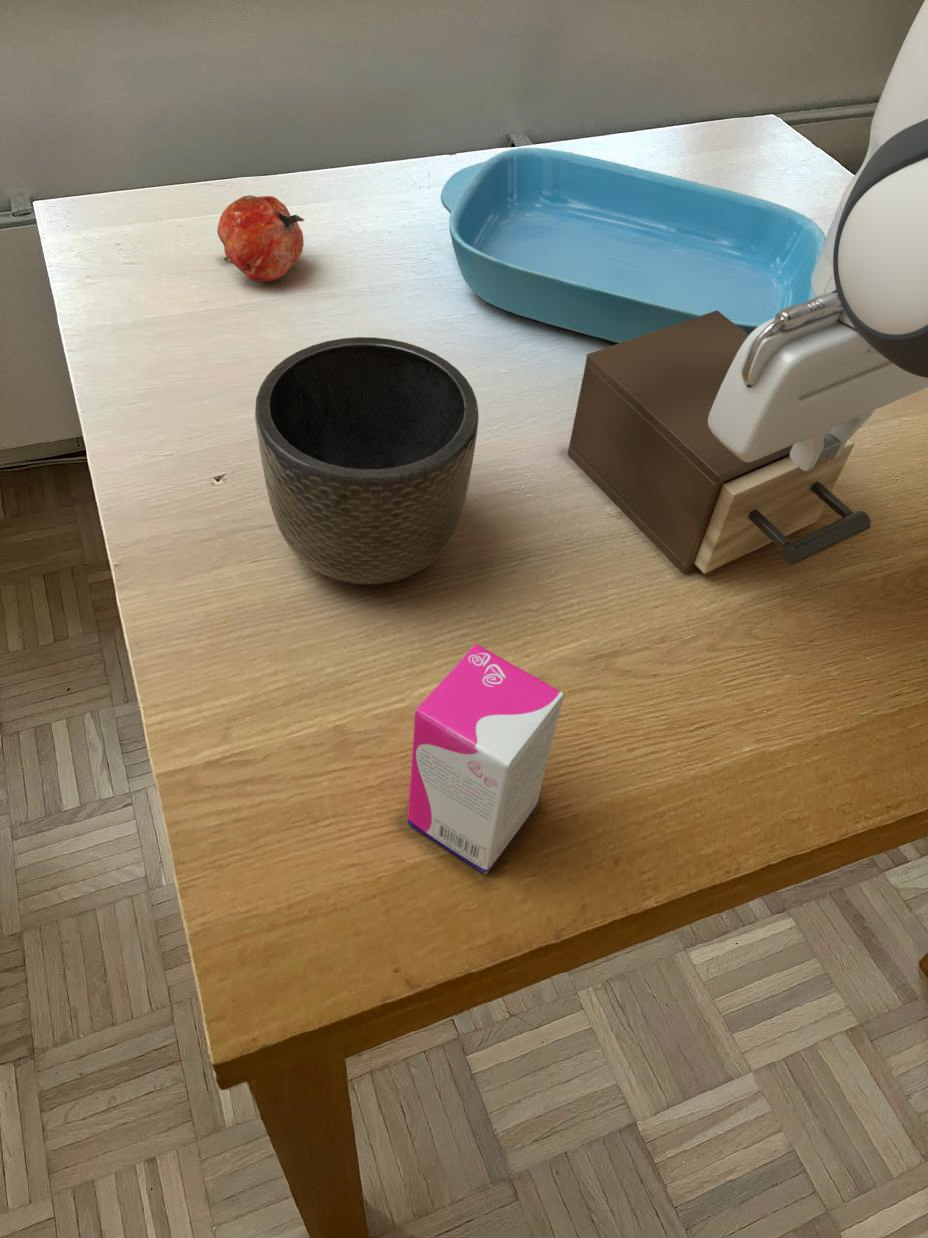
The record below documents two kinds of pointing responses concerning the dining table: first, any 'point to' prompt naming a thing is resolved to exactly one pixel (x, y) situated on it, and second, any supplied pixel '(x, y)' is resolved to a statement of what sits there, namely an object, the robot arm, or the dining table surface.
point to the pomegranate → (260, 237)
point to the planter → (366, 455)
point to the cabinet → (661, 430)
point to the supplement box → (480, 756)
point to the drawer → (778, 513)
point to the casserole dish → (623, 245)
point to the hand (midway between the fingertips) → (812, 458)
